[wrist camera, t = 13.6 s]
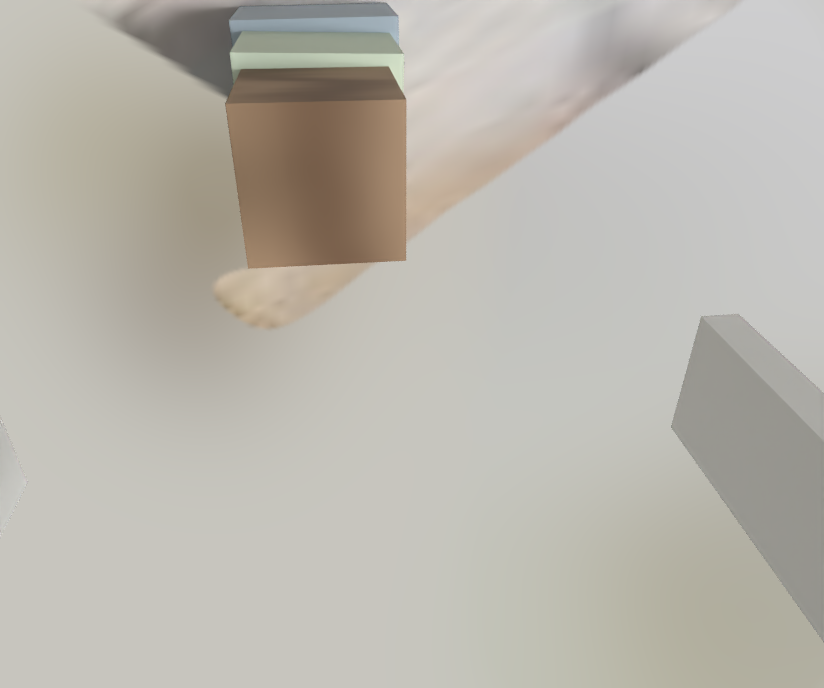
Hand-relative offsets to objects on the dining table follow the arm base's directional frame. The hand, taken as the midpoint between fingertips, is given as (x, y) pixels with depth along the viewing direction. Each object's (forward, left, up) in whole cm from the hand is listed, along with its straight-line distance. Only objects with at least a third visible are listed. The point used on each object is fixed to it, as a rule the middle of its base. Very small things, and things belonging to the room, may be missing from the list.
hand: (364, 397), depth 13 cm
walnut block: (-1, -1, -19) cm, 19 cm away
